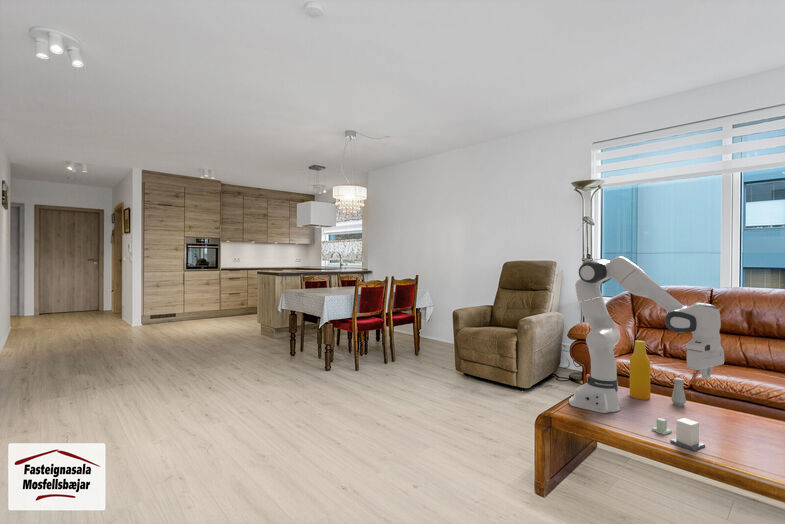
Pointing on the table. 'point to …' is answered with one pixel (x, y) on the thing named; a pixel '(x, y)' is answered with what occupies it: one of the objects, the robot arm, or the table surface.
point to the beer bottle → (640, 372)
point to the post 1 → (662, 427)
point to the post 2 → (693, 448)
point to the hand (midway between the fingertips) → (706, 377)
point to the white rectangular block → (687, 431)
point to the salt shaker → (678, 392)
